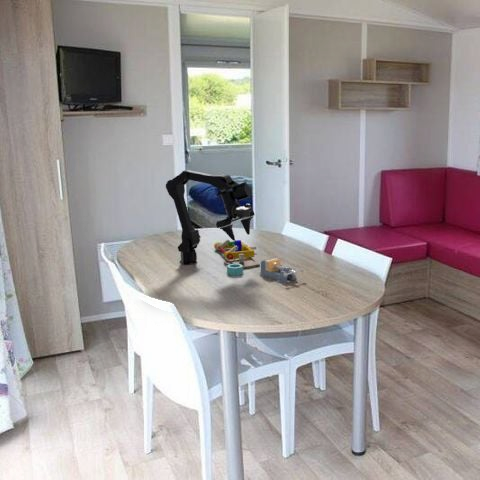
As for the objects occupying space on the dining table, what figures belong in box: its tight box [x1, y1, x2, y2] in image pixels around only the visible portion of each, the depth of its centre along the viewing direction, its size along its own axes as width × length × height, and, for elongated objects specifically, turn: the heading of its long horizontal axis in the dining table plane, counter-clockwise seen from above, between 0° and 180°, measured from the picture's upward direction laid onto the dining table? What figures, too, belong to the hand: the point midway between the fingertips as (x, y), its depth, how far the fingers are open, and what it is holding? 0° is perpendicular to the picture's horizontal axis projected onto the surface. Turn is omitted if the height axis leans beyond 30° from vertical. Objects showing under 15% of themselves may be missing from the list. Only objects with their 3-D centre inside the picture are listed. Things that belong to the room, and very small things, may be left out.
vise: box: [259, 257, 304, 284], centre depth 223 cm, size 18×10×7 cm, turn 37°
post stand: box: [223, 254, 261, 270], centre depth 242 cm, size 12×12×5 cm
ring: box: [226, 264, 244, 276], centre depth 231 cm, size 6×6×3 cm
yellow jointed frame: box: [213, 238, 257, 261], centre depth 259 cm, size 18×6×30 cm
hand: (241, 237), depth 234 cm, fingers open, 9 cm apart
